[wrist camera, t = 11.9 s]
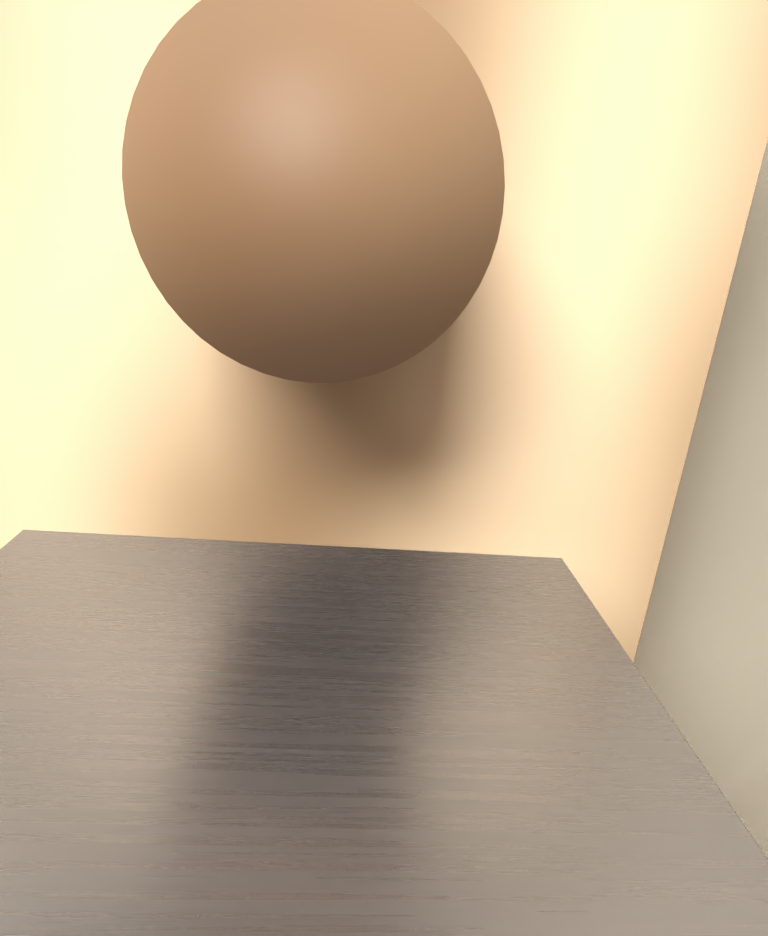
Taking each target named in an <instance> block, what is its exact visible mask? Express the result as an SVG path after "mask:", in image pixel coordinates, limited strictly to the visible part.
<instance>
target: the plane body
mask: <svg viewBox="0 0 768 936" xmlns="http://www.w3.org/2000/svg"><path fill="white" fill-rule="evenodd" d="M767 140H768V0H0V549H1V548H2V547H3V546H5V545H6V544H7V543H8V542H9V541H10V540H12V539H13V538H14V537H15V536H16V535H17V534H19V533H20V532H21V531H22V530H40V531H59V532H78V533H97V534H115V535H134V536H153V537H172V538H191V539H210V540H229V541H248V542H267V543H286V544H305V545H323V546H342V547H361V548H380V549H399V550H418V551H437V552H456V553H475V554H494V555H512V556H531V557H550V558H562V559H563V561H564V562H565V564H566V565H567V567H568V568H569V570H570V571H571V572H572V574H573V575H574V577H575V578H576V580H577V581H578V583H579V584H580V586H581V587H582V589H583V590H584V592H585V593H586V594H587V596H588V597H589V599H590V600H591V602H592V603H593V605H594V606H595V608H596V609H597V611H598V612H599V613H600V615H601V616H602V618H603V619H604V621H605V622H606V624H607V625H608V627H609V628H610V630H611V631H612V632H613V634H614V635H615V637H616V638H617V640H618V641H619V643H620V644H621V646H622V647H623V649H624V650H625V651H626V653H627V654H628V656H629V657H630V659H631V660H632V662H634V658H635V654H636V650H637V647H638V643H639V639H640V635H641V631H642V627H643V623H644V619H645V615H646V611H647V608H648V604H649V600H650V596H651V592H652V588H653V584H654V580H655V576H656V573H657V569H658V565H659V561H660V557H661V553H662V549H663V545H664V541H665V537H666V534H667V530H668V526H669V522H670V518H671V514H672V510H673V506H674V502H675V498H676V495H677V491H678V487H679V483H680V479H681V475H682V471H683V467H684V463H685V460H686V456H687V452H688V448H689V444H690V440H691V436H692V432H693V428H694V424H695V421H696V417H697V413H698V409H699V405H700V401H701V397H702V393H703V389H704V386H705V382H706V378H707V374H708V370H709V366H710V362H711V358H712V354H713V350H714V347H715V343H716V339H717V335H718V331H719V327H720V323H721V319H722V315H723V311H724V308H725V304H726V300H727V296H728V292H729V288H730V284H731V280H732V276H733V273H734V269H735V265H736V261H737V257H738V253H739V249H740V245H741V241H742V237H743V234H744V230H745V226H746V222H747V218H748V214H749V210H750V206H751V202H752V198H753V195H754V191H755V187H756V183H757V179H758V175H759V171H760V167H761V163H762V160H763V156H764V152H765V148H766V144H767Z"/></svg>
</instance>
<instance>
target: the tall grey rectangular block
mask: <svg viewBox="0 0 768 936" xmlns="http://www.w3.org/2000/svg"><path fill="white" fill-rule="evenodd" d="M0 936H768V859H767V858H766V856H765V855H764V853H763V852H762V850H761V849H760V848H759V846H758V845H757V843H756V842H755V840H754V839H753V837H752V836H751V834H750V833H749V831H748V830H747V829H746V827H745V826H744V824H743V823H742V821H741V820H740V818H739V817H738V815H737V814H736V812H735V811H734V810H733V808H732V807H731V805H730V804H729V802H728V801H727V799H726V798H725V796H724V795H723V793H722V792H721V790H720V789H719V788H718V786H717V785H716V783H715V782H714V780H713V779H712V777H711V776H710V774H709V773H708V771H707V770H706V769H705V767H704V766H703V764H702V763H701V761H700V760H699V758H698V757H697V755H696V754H695V752H694V751H693V750H692V748H691V747H690V745H689V744H688V742H687V741H686V739H685V738H684V736H683V735H682V733H681V732H680V731H679V729H678V728H677V726H676V725H675V723H674V722H673V720H672V719H671V717H670V716H669V714H668V713H667V711H666V710H665V709H664V707H663V706H662V704H661V703H660V701H659V700H658V698H657V697H656V695H655V694H654V692H653V691H652V690H651V688H650V687H649V685H648V684H647V682H646V681H645V679H644V678H643V676H642V675H641V673H640V672H639V671H638V669H637V668H636V666H635V665H634V663H633V662H632V660H631V659H630V657H629V656H628V654H627V653H626V651H625V650H624V649H623V647H622V646H621V644H620V643H619V641H618V640H617V638H616V637H615V635H614V634H613V632H612V631H611V630H610V628H609V627H608V625H607V624H606V622H605V621H604V619H603V618H602V616H601V615H600V613H599V612H598V611H597V609H596V608H595V606H594V605H593V603H592V602H591V600H590V599H589V597H588V596H587V594H586V593H585V592H584V590H583V589H582V587H581V586H580V584H579V583H578V581H577V580H576V578H575V577H574V575H573V574H572V572H571V571H570V570H569V568H568V567H567V565H566V564H565V562H564V561H563V559H562V558H550V557H531V556H512V555H494V554H475V553H456V552H437V551H418V550H399V549H380V548H361V547H342V546H323V545H305V544H286V543H267V542H248V541H229V540H210V539H191V538H172V537H153V536H134V535H115V534H97V533H78V532H59V531H40V530H22V531H21V532H20V533H19V534H17V535H16V536H15V537H14V538H13V539H12V540H10V541H9V542H8V543H7V544H6V545H5V546H3V547H2V548H1V549H0Z"/></svg>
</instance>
